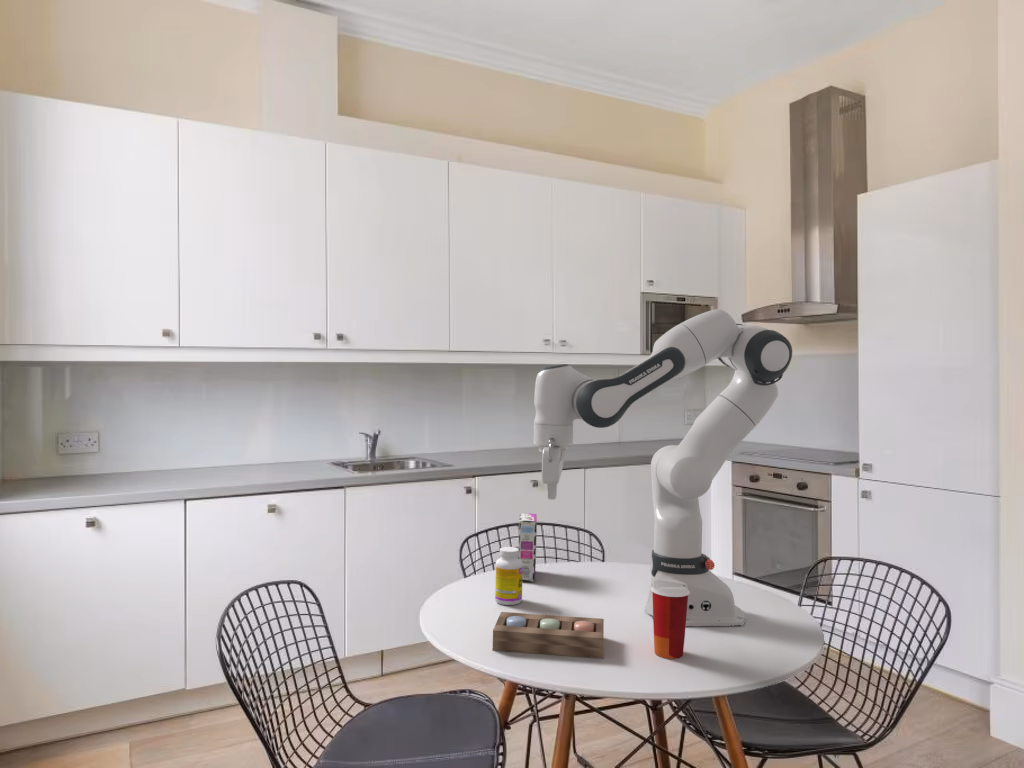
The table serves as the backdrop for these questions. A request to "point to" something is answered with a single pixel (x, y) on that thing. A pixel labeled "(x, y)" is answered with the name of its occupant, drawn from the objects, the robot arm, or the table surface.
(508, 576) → the supplement bottle
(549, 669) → the table surface
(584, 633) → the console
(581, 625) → the button terracotta
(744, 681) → the table surface
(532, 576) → the candy bar box
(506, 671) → the table surface
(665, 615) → the paper cup
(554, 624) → the button sage
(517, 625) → the button slate
